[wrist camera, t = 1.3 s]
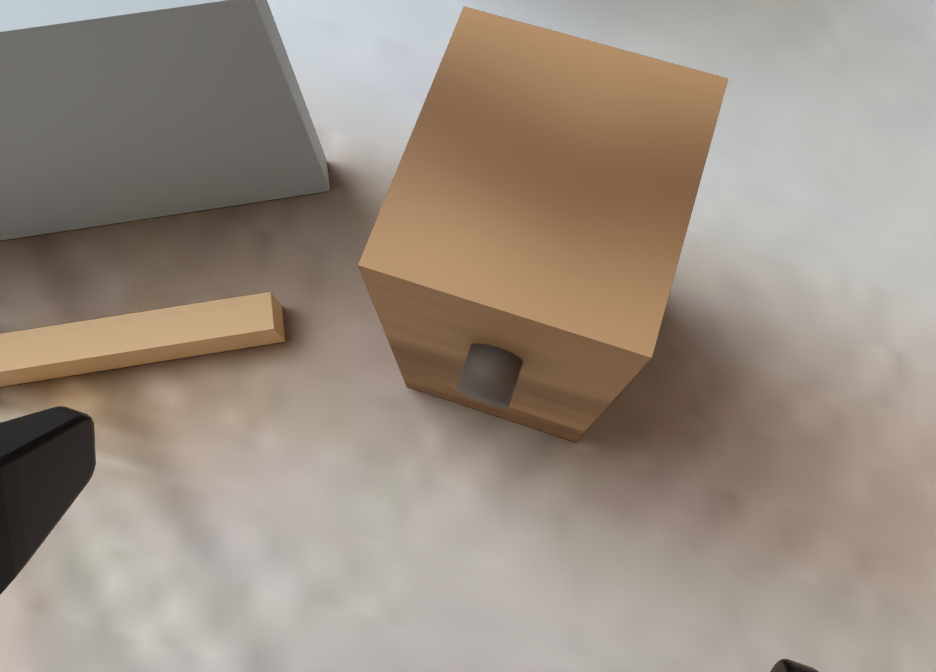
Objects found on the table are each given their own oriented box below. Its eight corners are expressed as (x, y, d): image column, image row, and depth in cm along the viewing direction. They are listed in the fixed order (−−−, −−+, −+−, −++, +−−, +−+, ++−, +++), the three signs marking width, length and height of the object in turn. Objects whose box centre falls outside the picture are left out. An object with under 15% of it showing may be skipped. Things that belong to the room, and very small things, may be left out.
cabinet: (566, 473, 22) (636, 411, 12) (395, 416, 22) (337, 314, 13) (626, 269, 24) (728, 78, 14) (467, 221, 24) (464, 6, 15)
